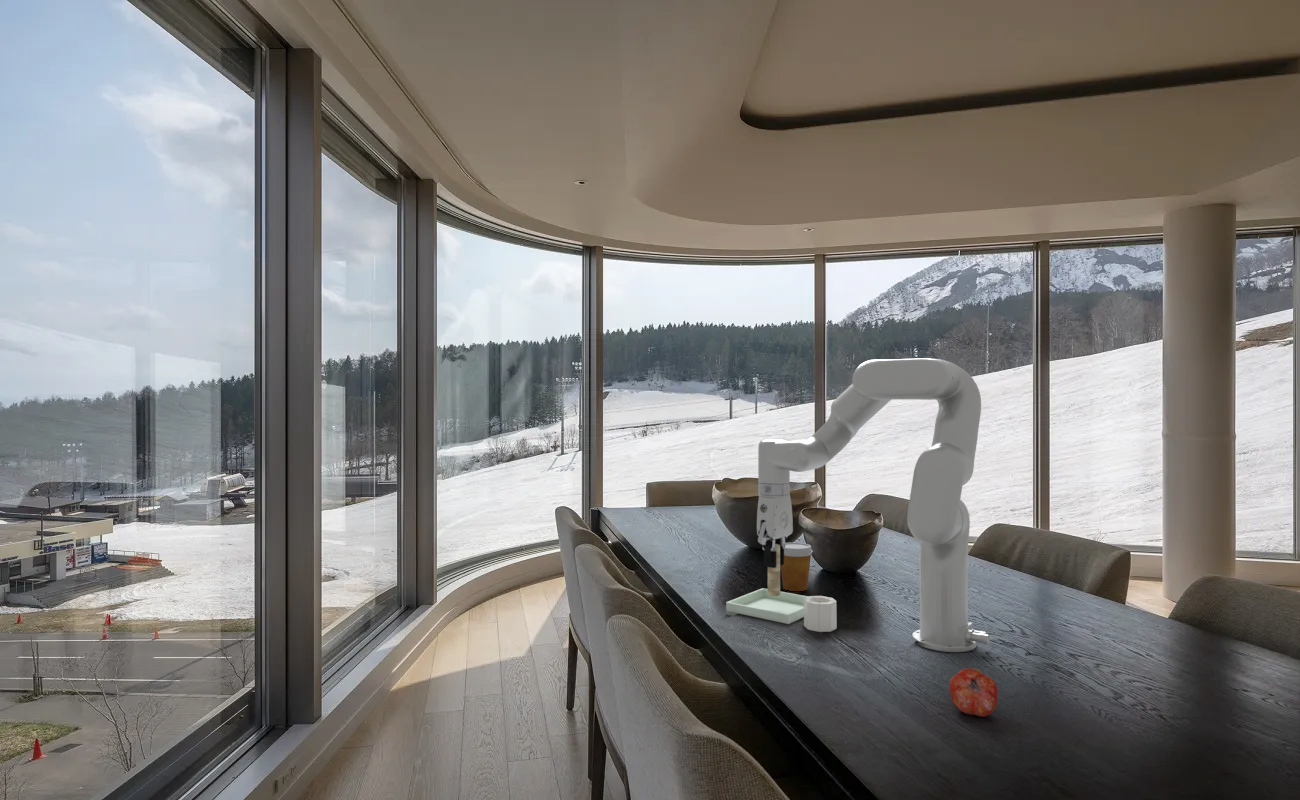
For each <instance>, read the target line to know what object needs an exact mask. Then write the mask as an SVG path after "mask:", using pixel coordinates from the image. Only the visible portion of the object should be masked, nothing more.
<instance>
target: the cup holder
mask: <svg viewBox="0 0 1300 800" xmlns="http://www.w3.org/2000/svg"><path fill="white" fill-rule="evenodd" d="M837 619H838V618H837V600H836V599H834V598H833V597H829V596H823V595H811V596H810V595H809V596H808V597H807V598H804V617H803V626H804V628H806V630H808V631H814V632H819V633H823V632H827V633H828V632H829V633H830V632H833V631H835V630H837V628H838V627H837Z"/></svg>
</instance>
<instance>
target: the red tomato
mask: <svg viewBox="0 0 1300 800" xmlns="http://www.w3.org/2000/svg"><path fill="white" fill-rule="evenodd" d="M948 685H949V686H948V689H949V690H948V691H949V694H950V699H951V701H952V703H953V705H954V706H955V707H956V708H957V709H958V710H959V711H960V712H962V713H964V714H966V715H971V716H978V717H988V716H990V715H991V714H992V713H994V711H995V710H996V708H997V705H998V700H999V697H998V696H999V689H998V686H997V683H996V681H995V680H994V679H993V678H992V677H991V676H988V675H986V674H984V673H983V672H981V670H980V669H977V668H971V667H968V668H962V669H960V670H959V672H957V673H956V674H955V675H953V676H952V677H951V678H950V680H949V684H948Z"/></svg>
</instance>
